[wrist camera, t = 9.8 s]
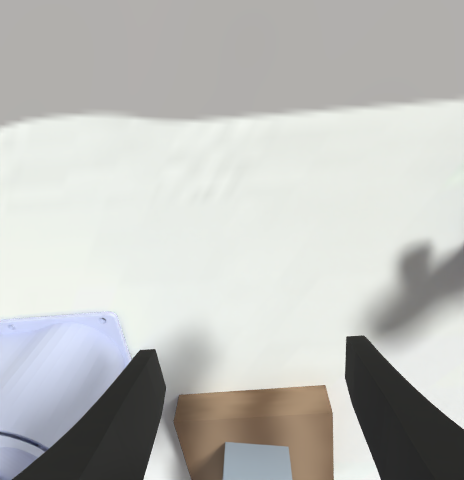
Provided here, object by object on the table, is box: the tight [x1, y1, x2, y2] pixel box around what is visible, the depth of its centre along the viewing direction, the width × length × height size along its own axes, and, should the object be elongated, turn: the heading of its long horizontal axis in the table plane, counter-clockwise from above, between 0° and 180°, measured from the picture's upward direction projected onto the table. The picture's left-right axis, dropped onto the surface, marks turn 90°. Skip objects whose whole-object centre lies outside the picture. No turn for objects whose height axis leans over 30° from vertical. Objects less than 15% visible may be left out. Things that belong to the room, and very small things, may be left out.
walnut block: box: [174, 385, 334, 480], centre depth 29 cm, size 12×12×3 cm
